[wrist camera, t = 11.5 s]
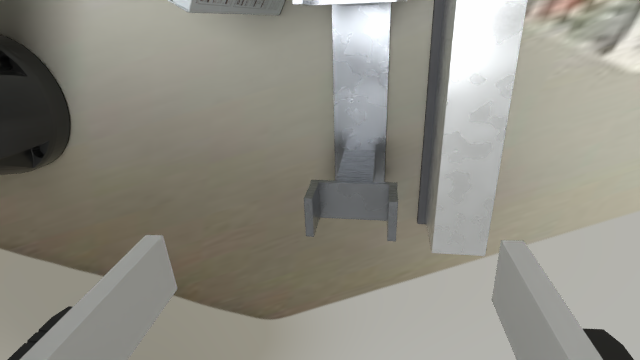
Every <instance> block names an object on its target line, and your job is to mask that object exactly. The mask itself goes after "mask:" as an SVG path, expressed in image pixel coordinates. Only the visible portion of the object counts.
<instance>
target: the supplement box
mask: <svg viewBox="0 0 640 360" xmlns="http://www.w3.org/2000/svg"><path fill="white" fill-rule="evenodd" d="M168 1H170V2H171V3H173V4H175V5H177V6H178V7H180V8H182V9H183V10H185V11H186V12H189V13H218V14H253V15H279V14H280V12H281V10H282V7H283V4H284V2H285V0H168Z"/></svg>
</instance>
